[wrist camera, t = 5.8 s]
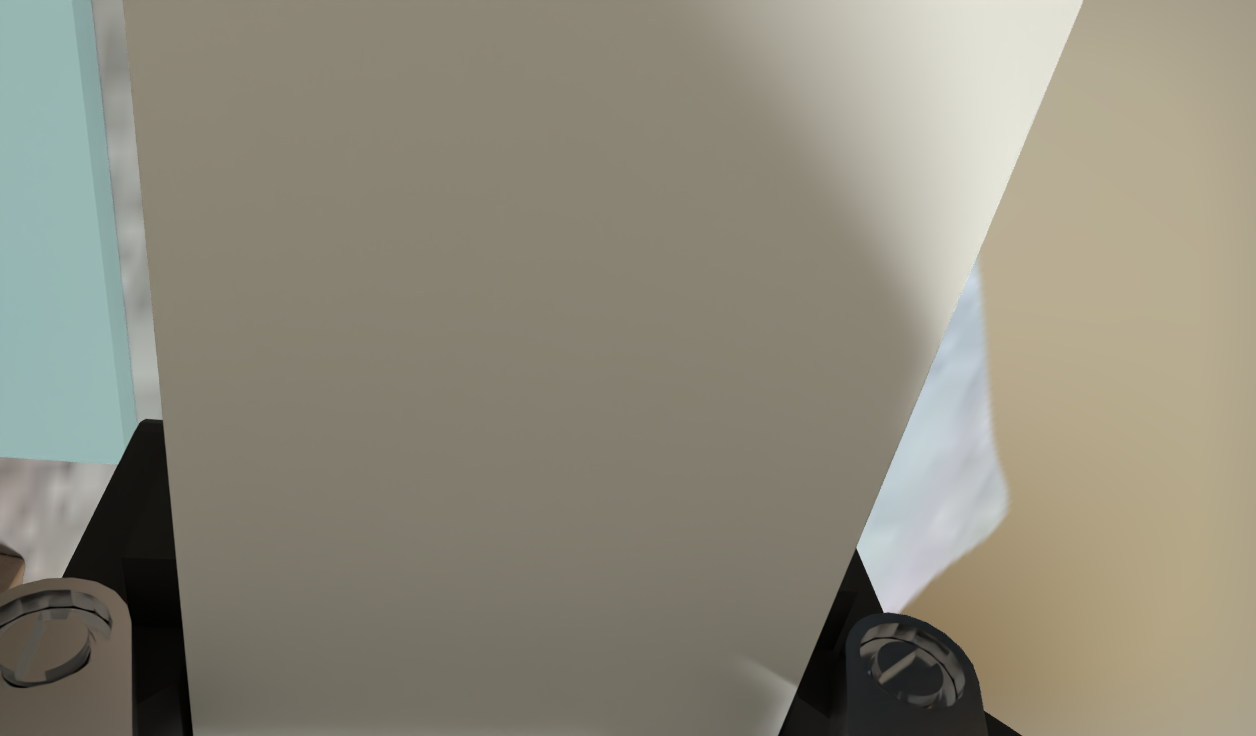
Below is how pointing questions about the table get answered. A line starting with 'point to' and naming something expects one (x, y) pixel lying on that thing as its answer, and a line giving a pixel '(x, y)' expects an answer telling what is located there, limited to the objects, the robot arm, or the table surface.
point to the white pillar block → (549, 338)
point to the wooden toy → (11, 572)
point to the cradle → (58, 245)
